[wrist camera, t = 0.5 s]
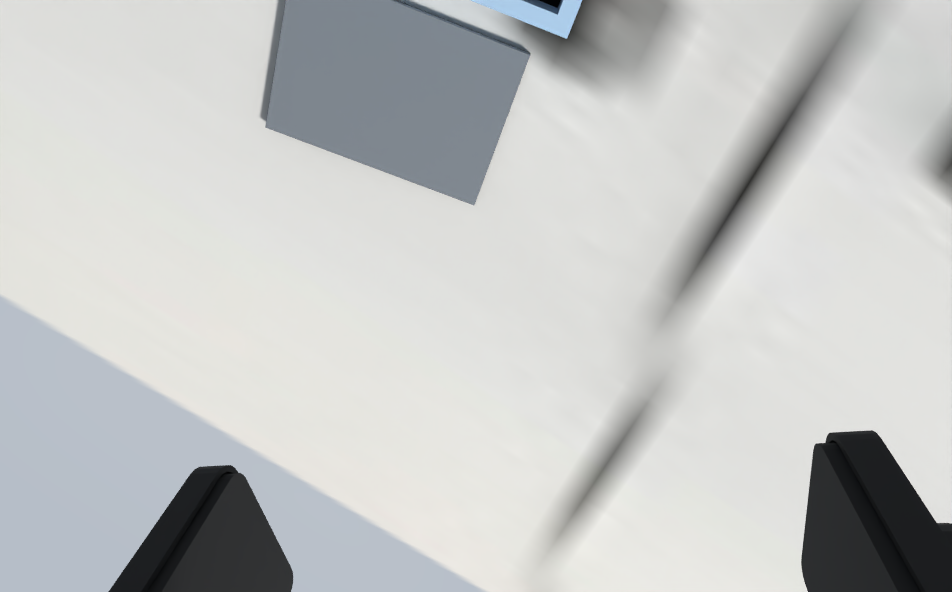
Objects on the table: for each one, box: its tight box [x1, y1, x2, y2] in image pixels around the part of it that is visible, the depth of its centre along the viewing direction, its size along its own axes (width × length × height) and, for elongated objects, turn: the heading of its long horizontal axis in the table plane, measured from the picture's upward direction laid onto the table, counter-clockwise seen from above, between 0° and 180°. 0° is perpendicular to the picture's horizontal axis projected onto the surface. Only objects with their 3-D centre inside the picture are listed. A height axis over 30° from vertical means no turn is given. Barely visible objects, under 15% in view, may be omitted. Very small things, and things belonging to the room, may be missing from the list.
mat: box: [266, 0, 530, 205], centre depth 34 cm, size 9×13×1 cm
